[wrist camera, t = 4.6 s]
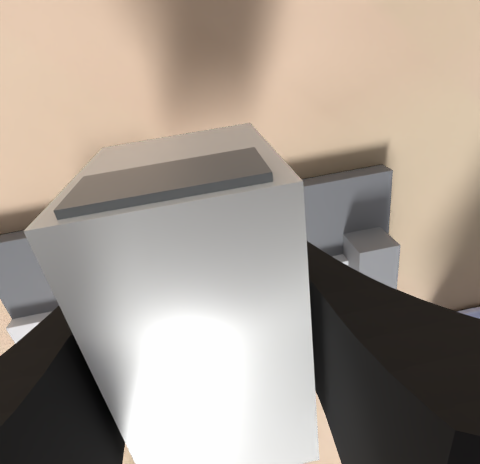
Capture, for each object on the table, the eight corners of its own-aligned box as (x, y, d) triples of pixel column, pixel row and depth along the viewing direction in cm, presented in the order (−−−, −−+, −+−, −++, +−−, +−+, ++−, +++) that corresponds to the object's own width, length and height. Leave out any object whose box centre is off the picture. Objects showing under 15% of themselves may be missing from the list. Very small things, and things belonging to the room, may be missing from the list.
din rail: (382, 164, 18) (416, 184, 15) (373, 336, 23) (397, 372, 21) (-19, 238, 17) (-57, 272, 14) (73, 400, 22) (57, 446, 20)
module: (249, 117, 9) (302, 171, 5) (273, 319, 13) (318, 459, 8) (100, 142, 9) (18, 221, 5) (164, 341, 13) (150, 496, 8)
